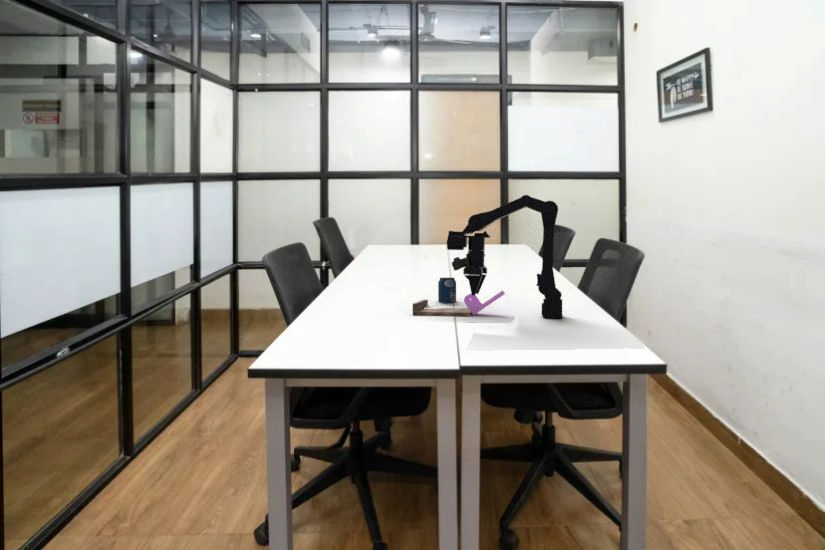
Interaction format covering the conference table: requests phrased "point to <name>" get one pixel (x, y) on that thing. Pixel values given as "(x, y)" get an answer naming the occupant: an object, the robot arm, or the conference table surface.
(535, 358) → the conference table surface
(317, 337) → the conference table surface
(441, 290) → the soda can
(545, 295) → the robot arm
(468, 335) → the conference table surface
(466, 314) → the board
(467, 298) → the bracket
